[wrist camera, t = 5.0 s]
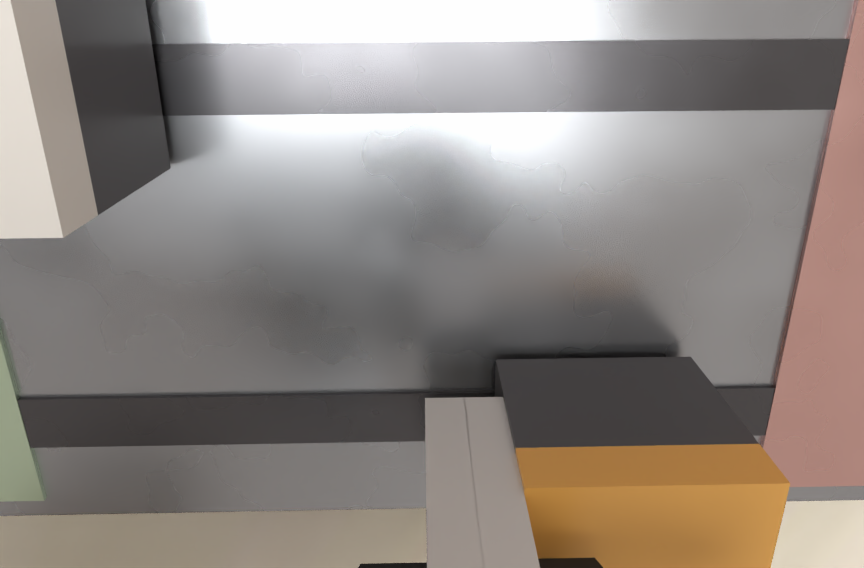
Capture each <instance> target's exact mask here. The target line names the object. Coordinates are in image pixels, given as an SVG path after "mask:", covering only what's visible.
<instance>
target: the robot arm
mask: <svg viewBox="0 0 864 568" xmlns="http://www.w3.org/2000/svg"><path fill="white" fill-rule="evenodd" d="M425 443H426V526H427V563H382V564H360V566H359V567H358V568H603V567H602V566H601V564H600V563H599V562H598V561H597V560H596V559H595V558H543V559H538V556H537V551H536V546H535V542H534V537H533V532H532V528H531V523H530V518H529V514H528V509H527V504H526V500H525V495H524V490H523V486H522V481H521V476H520V472H519V467H518V463H517V458H516V454H515V449H514V444H513V440H512V435H511V431H510V426H509V422H508V417H507V413H506V408H505V404H504V399H503V397H461V398H425Z"/></svg>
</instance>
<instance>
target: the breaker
mask: <svg viewBox="0 0 864 568" xmlns="http://www.w3.org/2000/svg"><path fill="white" fill-rule="evenodd" d="M170 168H171V166H170V160H169V153H168V147H167V140H166V134H165V127H164V121H163V114H162V107H161V101H160V94H159V88H158V81H157V75H156V68H155V62H154V55H153V49H152V42H151V36H150V29H149V22H148V16H147V9H146V3H145V0H0V239H11V238H64V237H65V236H67V235H68V234H70V233H72V232H73V231H75V230H76V229H78V228H79V227H81V226H82V225H84V224H85V223H87V222H89V221H90V220H92V219H93V218H95V217H96V216H98V215H99V214H101V213H102V212H104V211H106V210H107V209H109V208H110V207H112V206H113V205H115V204H116V203H118V202H119V201H121V200H123V199H124V198H126V197H127V196H129V195H130V194H132V193H133V192H135V191H136V190H138V189H140V188H141V187H143V186H144V185H146V184H147V183H149V182H150V181H152V180H153V179H155V178H157V177H158V176H160V175H161V174H163V173H164V172H166V171H167V170H169V169H170Z"/></svg>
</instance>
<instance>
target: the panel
mask: <svg viewBox="0 0 864 568" xmlns="http://www.w3.org/2000/svg"><path fill="white" fill-rule="evenodd" d="M145 3H146V9H147V16H148V22H149V29H150V36H151V42H152V49H153V55H154V62H155V68H156V75H157V81H158V88H159V94H160V101H161V107H162V114H163V121H164V127H165V134H166V140H167V147H168V153H169V160H170V166H171V168H170V169H169V170H167V171H166V172H164V173H163V174H161V175H160V176H158V177H157V178H155V179H153V180H152V181H150V182H149V183H147V184H146V185H144V186H143V187H141V188H140V189H138V190H136V191H135V192H133V193H132V194H130V195H129V196H127V197H126V198H124V199H123V200H121V201H119V202H118V203H116V204H115V205H113V206H112V207H110V208H109V209H107V210H106V211H104V212H102V213H101V214H99V215H98V216H96V217H95V218H93V219H92V220H90V221H89V222H87V223H85V224H84V225H82V226H81V227H79V228H78V229H76V230H75V231H73V232H72V233H70V234H68V235H67V236H65V237H64V238H11V239H0V516H19V515H73V514H127V513H181V512H235V511H289V510H343V509H396V508H426V443H425V398H461V397H495V371H496V359H562V358H628V357H691V358H692V359H693V360H694V361H695V363H696V364H697V365H698V366H699V368H700V369H701V370H702V372H703V373H704V374H705V375H706V377H707V378H708V379H709V380H710V382H711V383H712V384H713V386H714V387H715V388H716V389H717V391H718V392H719V393H720V394H721V396H722V397H723V398H724V400H725V401H726V402H727V403H728V405H729V406H730V407H731V408H732V410H733V411H734V412H735V414H736V415H737V416H738V417H739V419H740V420H741V421H742V422H743V424H744V425H745V426H746V428H747V429H748V430H749V431H750V433H751V434H752V435H753V436H754V438H755V439H756V440H757V442H758V443H759V444H760V445H761V447H762V448H763V449H764V450H765V452H766V453H767V454H768V456H769V457H770V458H771V459H772V461H773V462H774V463H775V464H776V466H777V467H778V468H779V470H780V471H781V472H782V473H783V475H784V476H785V477H786V478H787V480H788V481H789V482H790V487H789V491H788V495H787V500H786V501H827V500H864V0H145Z"/></svg>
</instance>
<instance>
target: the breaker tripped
mask: <svg viewBox="0 0 864 568" xmlns="http://www.w3.org/2000/svg"><path fill="white" fill-rule="evenodd" d="M495 397H503V399H504V404H505V408H506V413H507V417H508V422H509V426H510V431H511V435H512V440H513V444H514V449H515V454H516V458H517V463H518V467H519V472H520V476H521V481H522V486H523V490H524V495H525V500H526V504H527V509H528V514H529V518H530V523H531V528H532V532H533V537H534V542H535V546H536V551H537V556H538V559H543V558H595V559H596V560H597V561H598V562H599V563H600V564H601V566H602V567H603V568H770V567H771V563H772V559H773V554H774V550H775V546H776V542H777V538H778V533H779V529H780V525H781V521H782V517H783V512H784V508H785V504H786V500H787V495H788V491H789V487H790V482H789V481H788V480H787V478H786V477H785V476H784V475H783V473H782V472H781V471H780V470H779V468H778V467H777V466H776V464H775V463H774V462H773V461H772V459H771V458H770V457H769V456H768V454H767V453H766V452H765V450H764V449H763V448H762V447H761V445H760V444H759V443H758V442H757V440H756V439H755V438H754V436H753V435H752V434H751V433H750V431H749V430H748V429H747V428H746V426H745V425H744V424H743V422H742V421H741V420H740V419H739V417H738V416H737V415H736V414H735V412H734V411H733V410H732V408H731V407H730V406H729V405H728V403H727V402H726V401H725V400H724V398H723V397H722V396H721V394H720V393H719V392H718V391H717V389H716V388H715V387H714V386H713V384H712V383H711V382H710V380H709V379H708V378H707V377H706V375H705V374H704V373H703V372H702V370H701V369H700V368H699V366H698V365H697V364H696V363H695V361H694V360H693V359H692V358H691V357H628V358H562V359H496V371H495Z"/></svg>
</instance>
